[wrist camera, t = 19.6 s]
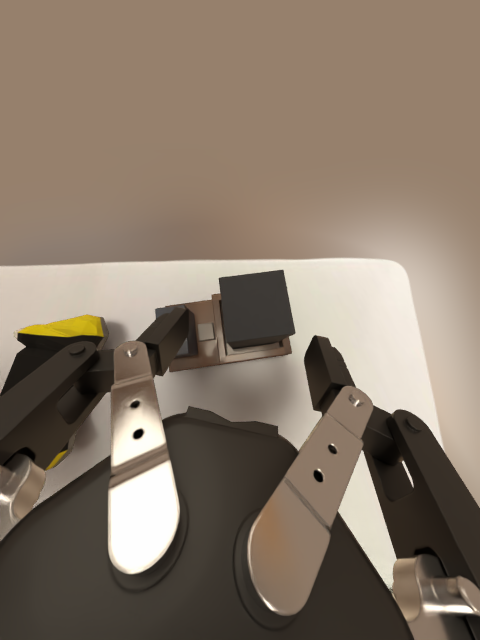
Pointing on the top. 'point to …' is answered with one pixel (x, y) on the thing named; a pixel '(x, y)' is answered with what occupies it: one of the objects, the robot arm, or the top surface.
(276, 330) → the black rectangular block
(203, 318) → the frame
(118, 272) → the top surface
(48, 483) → the top surface
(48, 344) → the black yellow curved piece
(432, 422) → the top surface
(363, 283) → the top surface
